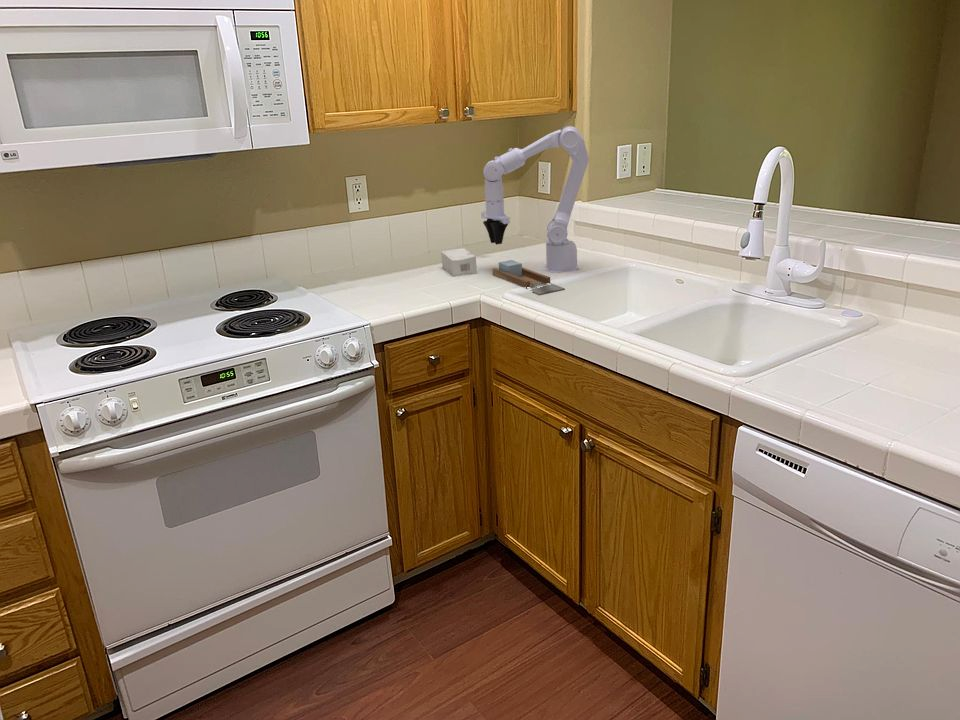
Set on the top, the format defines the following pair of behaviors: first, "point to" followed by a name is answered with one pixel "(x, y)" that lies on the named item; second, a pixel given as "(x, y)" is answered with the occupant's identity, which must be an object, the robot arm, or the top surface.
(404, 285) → the top surface
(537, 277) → the chute
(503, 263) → the block
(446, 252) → the skincare box
